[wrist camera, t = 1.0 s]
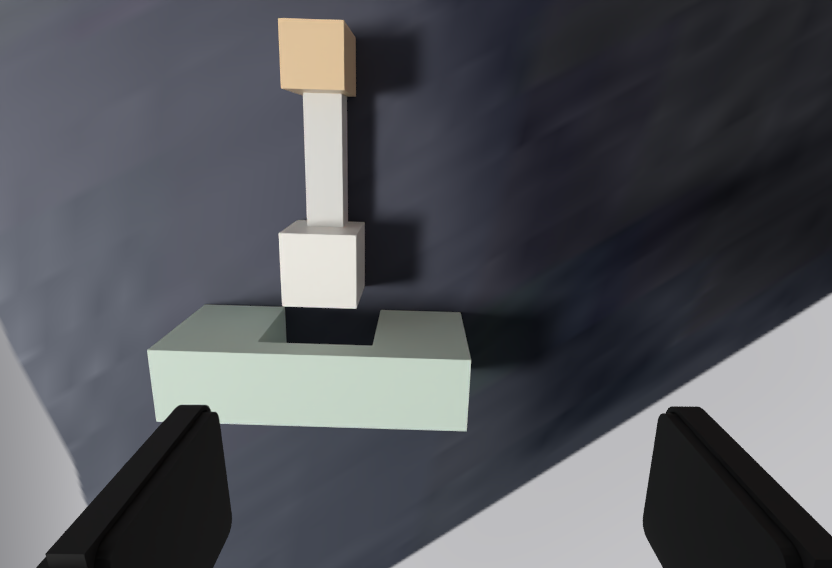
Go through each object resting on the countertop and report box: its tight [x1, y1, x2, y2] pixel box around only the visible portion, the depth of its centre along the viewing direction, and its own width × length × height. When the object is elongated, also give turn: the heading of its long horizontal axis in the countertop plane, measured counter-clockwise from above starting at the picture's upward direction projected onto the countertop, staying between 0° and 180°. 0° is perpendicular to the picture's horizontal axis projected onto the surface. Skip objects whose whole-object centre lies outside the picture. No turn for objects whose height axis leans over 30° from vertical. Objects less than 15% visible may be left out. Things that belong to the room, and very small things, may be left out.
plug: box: [278, 18, 365, 309], centre depth 27 cm, size 14×4×4 cm, turn 178°
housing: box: [147, 304, 471, 431], centre depth 29 cm, size 4×16×7 cm, turn 88°
